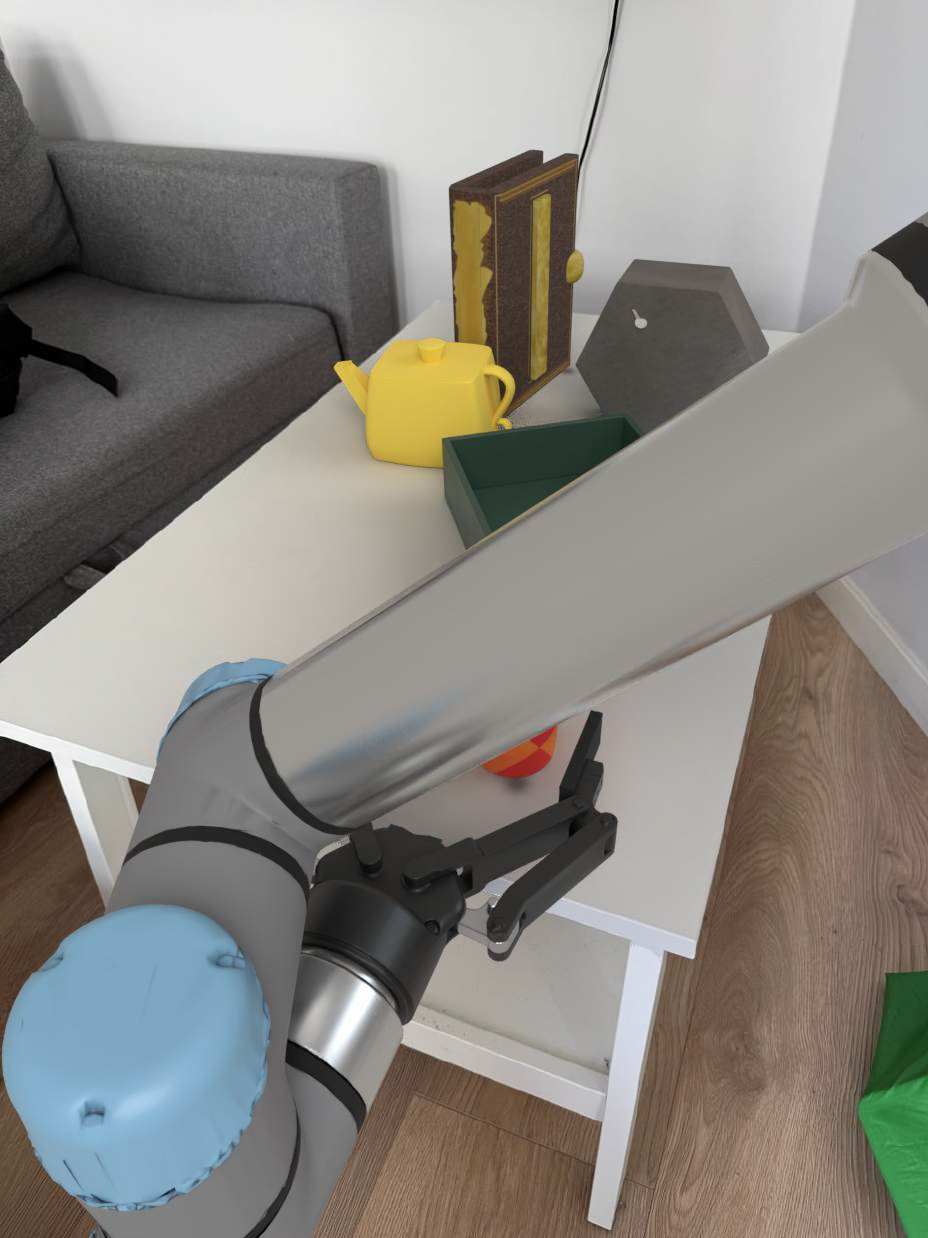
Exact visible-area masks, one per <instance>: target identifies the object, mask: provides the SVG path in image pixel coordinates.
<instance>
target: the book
mask: <svg viewBox="0 0 928 1238" xmlns="http://www.w3.org/2000/svg"><path fill="white" fill-rule="evenodd" d="M579 161H580V154H578V153H572V152H564V153H562V154H561V155H558V156H556V157H554V158H552V159H549V160H547V161H545V162H544V150H541V149H529V150H525V151H524V152H522V153H520V154H517V155H515V156H513V157H510V158H508V159H505V160H503V161H501V162H499V163H497V164H494V165H492V166H489V167H488V168H484V169H483V170H481V171H478V172H476V173H474V174H472V175H469V176H467V177H465V178H463V179H460V180H458V181H456V182H454V183H453V182H452V183H451V184H450V185H449V187H448V205H449V206H448V207H449V209H448V210H449V233H450V234H449V235H450V256H451V257H450V260H451V282H452V284H451V286H452V309H453V337H454V342H458V343H469V344H477V345H484V346H488V347H490V348H491V349H492V353H493V357H494V361H495V365H498V366H500V367H502V368H504V369H505V370H507V371H508V372H509V373H510V374H511V375H512V377H513V379H514V382H515V393H514V396H513V399H512V401H511V403H510V405H509V406H508V408H507V410H506V411H505V413H504V414H503V416H502V417H501V418H507V417H508V416H509V415H511V414H512V413H513V412H515V410H517V409H518V408H519V407H520V406H522V405H523V404H524V403H526V402H527V401H528V400H529V399H530V398H532V397H533V396H534V395H535V394H536V393H537V392H539V391H540V390H542V389H543V388H544V387H545V386H546V385H548V384H549V383H550V382H551V381H552V380H553V379H555V378H556V377H557V376H558V375H560V374H561V373H563V372H564V371H565V370H566V369H567V368H568V367H569V366H571V353H572V351H571V348H572V328H573V327H572V326H573V325H572V324H573V304H574V303H573V301H574V284H575V283H577V282H579V281H580V280H581V279H582V277H583V274H584V271H585V260H584V255H583V253H582V252H581V251H579V250H578V249H577V248H576V234H577V233H576V231H577V208H578V187H579V185H578V183H579V163H580V162H579ZM498 381H499V389H500V400H501V401H502V399H503V397H504V395H505V391H506V386H505V384H504V383H503V381H501V380H500V379H499V378H498Z"/></svg>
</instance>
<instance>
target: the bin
mask: <svg viewBox="0 0 928 1238" xmlns="http://www.w3.org/2000/svg"><path fill="white" fill-rule="evenodd" d="M504 429H505V428H504ZM504 429H500V430H498V431H490V432H483V433H476V434H468V435H461V436H454V437H446V438H442V454H443V468H442V473H443V488H444V489H443V490H444V499H445V501H446V503H447V507H448V509H449V511H450V513H451V516H452V519H453V521H454V523H455V526H456V528H457V530H458V533H459V536H460V538H461V540H462V543H463V546H464V548H465V550H467V549H468V548H470V547H471V546H473V545H475V544H476V543H478V542H479V541H481V540H482V539H484V538H485V537H487V536H489V535H490V534H492V533H493V532H495V531H496V530H498V529H499V528H501V527H502V526H504V525H506V524H507V523H509V522H510V521H512V520H513V519H515V518H516V517H518V516H520V515H521V514H523V513H524V512H526V511H527V510H529V509H530V508H532V507H533V506H535V505H537V504H538V503H540V502H541V501H543V500H544V499H546V498H547V497H549V496H551V495H552V494H554V493H555V492H557V491H558V490H560V489H561V488H563V487H565V486H566V485H568V484H569V483H571V482H572V481H574V480H575V479H577V478H578V477H580V476H582V475H583V474H585V473H586V472H588V471H589V470H591V469H592V468H594V467H596V466H597V465H599V464H600V463H602V462H603V461H605V460H606V459H608V458H609V457H611V456H613V455H614V454H616V453H617V452H619V451H620V450H622V449H623V448H625V447H627V446H628V445H630V444H631V443H633V442H634V441H636V440H637V439H639V438H641V437H642V436H644V435H645V433H644V432H643V431H642V430H641V428H640V427H639V426H638V425H637V424H636V422H635V421H634V420H633V419H632V418H631V416H630V415H629V414H628V413H622V414H615V415H607V416H604V415H601V416H594V417H586V418H579V419H572V420H563V421H557V422H550V423H542V424H534V425H528V426H520V427H512V429H505V430H504Z"/></svg>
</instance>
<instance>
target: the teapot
mask: <svg viewBox="0 0 928 1238" xmlns="http://www.w3.org/2000/svg"><path fill="white" fill-rule="evenodd" d="M333 370H334V371H335V373H336V374H337V375H338V377H339V379H340V380H341V381H342V383H343V384H344V386H345V388H346V389H347V391H348V392H349V394H350V395H351V397H352V398H353V399H354V401H355V403H356V404H357V406H358V408H359V409H360V410H361V412H362V413H363V415H364V416H365V437H366V444H367V447H368V450H369V453H370V454H371V456H372V458H373V459H374V460H377V461H380V462H386V463H391V464H398V465H404V466H411V467H420V468H432V469H443V454H442V438H446V437H454V436H461V435H468V434H476V433H483V432H490V431H498V430H501V429H500V428H499V425H502V427H503V428H504V429H503V430H505V429H512V428H513V424H512V421H510V419H508V418H507V417H506V418H501V417H502V416H503V414H504V413H505V411H506V410H507V408H508V406H509V405H510V403H511V401H512V399H513V396H514V393H515V382H514V379H513V377H512V375H511V374H510V373H509V372H508V371H507V370H505V369H504V368H502V367H500V366H498V365H495V361H494V357H493V353H492V349H491V348H490V347H488V346H484V345H477V344H469V343H458V342H455V341H446V340H444V339H441V338H437V337H426V338H422V339H398V340H397V339H396V340H394V341H393V342H392V343H391V344H390V345H389V346H388V347H387V348H386V350H385V351H384V352H383V353H382V355H381V356H380V357H379V359H378V360H377V361H376V363H375V364H374V365H373V367H372V368H371V370H370V372H369V376H368V374H366V373H365V372H364V371H362V369H361V368H360V367H358V366H357V365H356V364H354V362H353V360H352V359H351V360H350V359H349V360H343V361H337V362H336V364H334V366H333ZM498 378H499V379H500V380H501V381H503V383H504V384H505V386H506V391H505V395H504V397H503V399H502V401H501V400H500V389H499V381H498Z"/></svg>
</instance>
